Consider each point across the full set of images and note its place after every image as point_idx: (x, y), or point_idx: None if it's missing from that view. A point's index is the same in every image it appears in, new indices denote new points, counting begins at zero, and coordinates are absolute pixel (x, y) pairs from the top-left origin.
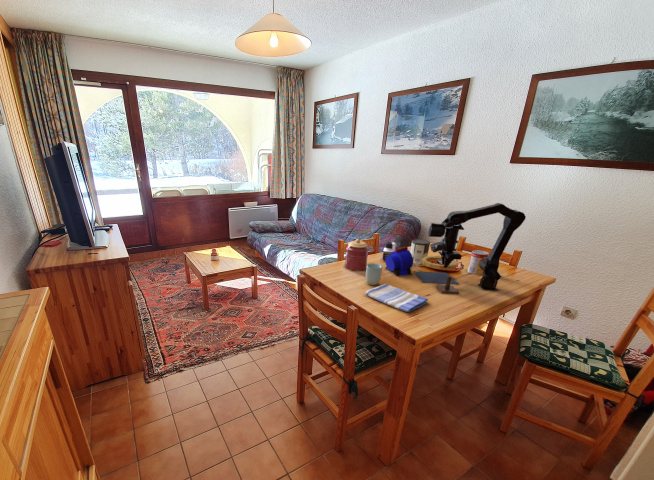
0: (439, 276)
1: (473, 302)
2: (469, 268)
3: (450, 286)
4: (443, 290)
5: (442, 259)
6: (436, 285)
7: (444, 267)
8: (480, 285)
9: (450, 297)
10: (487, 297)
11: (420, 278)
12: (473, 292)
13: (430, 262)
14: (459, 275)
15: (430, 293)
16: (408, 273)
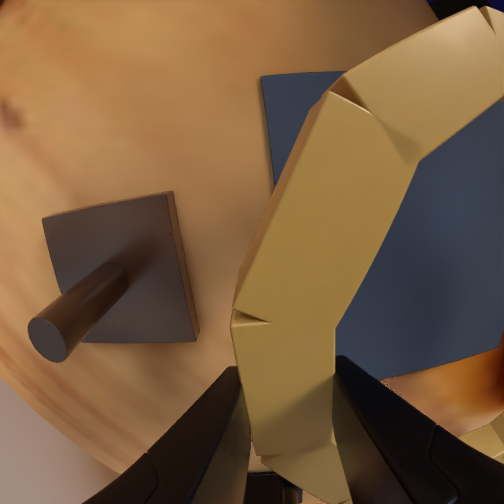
0: (444, 283)
1: (24, 363)
2: None
3: (162, 319)
4: (54, 235)
5: (386, 460)
6: (155, 194)
7: (222, 373)
8: (258, 478)
9: (19, 263)
10: (121, 448)
11: None
12: (161, 423)
13: (469, 114)
14: (454, 408)
15: (31, 133)
16: (443, 7)
